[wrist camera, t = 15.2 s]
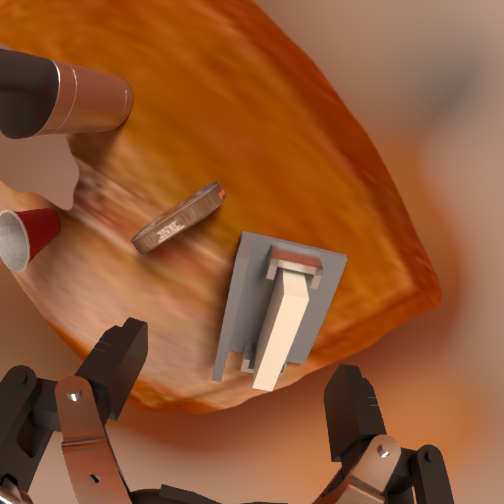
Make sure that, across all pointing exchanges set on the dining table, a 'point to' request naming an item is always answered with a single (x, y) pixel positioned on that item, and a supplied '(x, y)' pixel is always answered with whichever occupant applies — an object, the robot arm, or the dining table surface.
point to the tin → (179, 218)
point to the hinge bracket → (260, 292)
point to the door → (279, 327)
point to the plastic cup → (25, 235)
